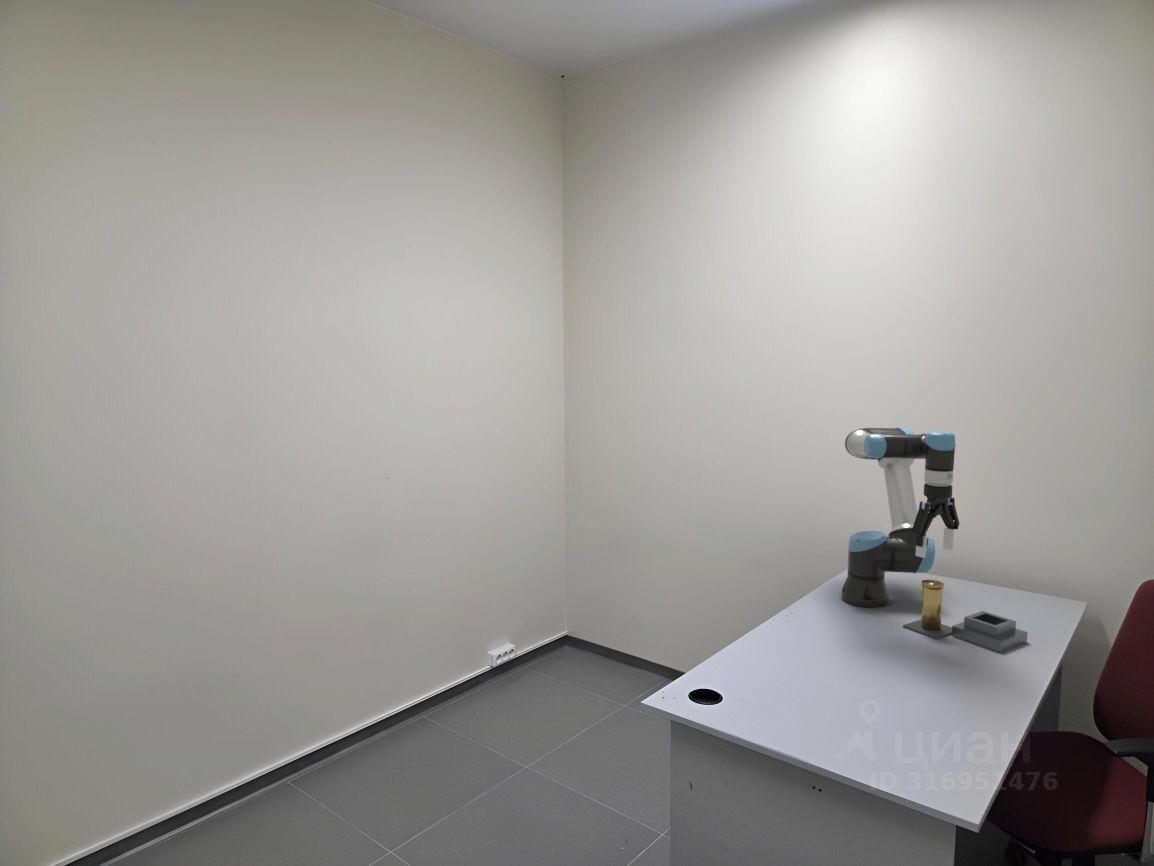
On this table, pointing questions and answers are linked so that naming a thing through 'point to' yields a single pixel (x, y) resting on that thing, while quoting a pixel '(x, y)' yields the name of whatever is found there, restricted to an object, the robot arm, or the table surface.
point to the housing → (990, 631)
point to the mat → (933, 634)
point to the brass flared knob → (931, 605)
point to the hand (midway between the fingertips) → (934, 553)
